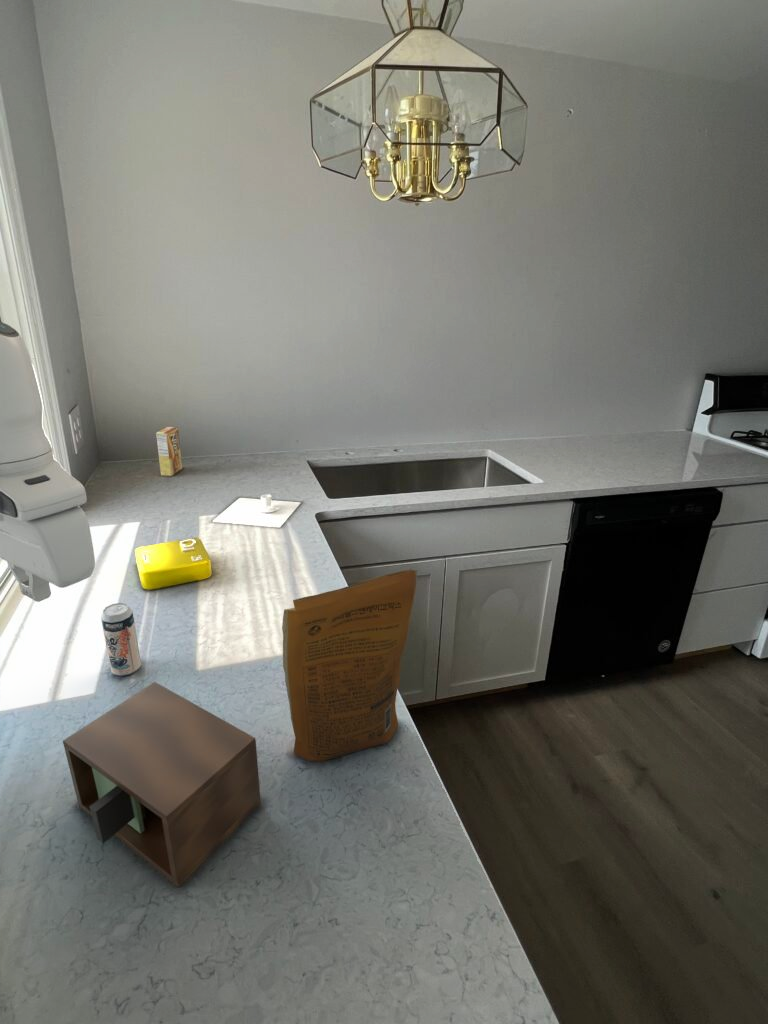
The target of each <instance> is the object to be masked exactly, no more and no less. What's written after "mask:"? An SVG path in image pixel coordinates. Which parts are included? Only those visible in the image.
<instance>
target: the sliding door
mask: <svg viewBox="0 0 768 1024" xmlns="http://www.w3.org/2000/svg"><path fill="white" fill-rule="evenodd" d="M92 770H93V775H94V779H95V784H96V788H97V792H98V797H99V800H98V801H96V802H95V803H94V804H92V805H91V806H90V810H91V814H92V817H91V818H92V823H93V826H94V831H95V834H96V835H95V836H96V838H97V840H98V841H100V842H101V843H102V844H105V843H106V842H107V841H108V840H110V839H111V838H112V837H114V834H116V833H117V832H118V831H119V830H120V829H121V828H123V827H124V826H125V825H126V824H127V823H128V824H129V825H130V826H132V827H133V828H134V829H135V830H137V831H138V832H139V833H142V832H143V831H144V830H145V828H144V823H143V818H142V813H141V807H140V802H139V801H137V800H136V799H134V798H133V797H132V796H130V795H129V794H128V793H126V792H125V791H124V790H122V789H121V788H120V787H118V786H117V785H115V784H114V783H113V782H111V781H110V780H109V779H107V778H106V777H105V776H103V775H102V774H100V773H99V772H98V771H96V770H95V769H94V768H92Z"/></svg>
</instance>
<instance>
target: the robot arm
mask: <svg viewBox="0 0 768 1024" xmlns="http://www.w3.org/2000/svg"><path fill="white" fill-rule="evenodd" d="M37 377H38V376H37V374H36V371H35V367H34V364H33V361H32V358H31V355H30V353H29V349H28V347H27V345H26V343H25V340H24V339H23V337H22V336H21V333H19V332H18V331H17V330H16V329H15V328H14V327H12V326H11V325H9V324H6V323H5V322H3V321H2V320H0V559H1V560H3V561H5V562H6V563H7V567H8V568H9V570H10V571H11V573H12V575H13V576H14V579H15V580H16V581H17V582H18V586H19V587H18V588H19V591H20V593H21V594H22V595H24V596H25V597H28V598H29V599H31V600H32V601H35V602H37V603H39V602H42V601H45V600H46V599H49V598H51V595H52V591H51V586H50V584H51V585H54V586H56V587H58V588H61V589H64V588H68V587H70V586H73V585H75V584H78V583H79V582H82V581H84V580H86V579H89V578H90V577H92V575H93V573H94V571H95V568H96V558H95V551H94V544H93V539H92V531H91V528H90V523H89V520H88V517H87V514H86V512H85V511H84V510H83V508H82V507H81V505H84V504H86V503H87V501H88V499H87V497H88V496H87V493H86V488H85V487H84V485H83V484H82V483H81V482H80V481H79V480H78V479H76V478H75V477H74V476H73V475H71V474H70V473H69V472H68V471H67V470H66V469H65V468H64V467H63V466H62V464H61V463H60V462H59V461H58V460H56V459H55V455H54V451H53V447H52V443H51V441H50V439H49V437H48V436H47V434H46V431H45V428H44V425H43V414H44V403H43V398H42V394H41V389H40V386H39V381H38V378H37Z"/></svg>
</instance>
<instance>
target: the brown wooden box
mask: <svg viewBox="0 0 768 1024" xmlns="http://www.w3.org/2000/svg"><path fill="white" fill-rule="evenodd" d="M62 745H63V749H64V752H65V756H66V760H67V765H68V768H69V773H70V776H71V780H72V784H73V788H74V792H75V797H76V800H77V805H78V808H79V809H81V811H83V812H84V813H86V814H87V815H88V816H89V817H90V818H92V814H91V810H90V806H91V805H92V804H94V803H95V802H96V801H98V800H99V797H98V792H97V788H96V784H95V779H94V775H93V770H92V768H94V769H95V770H96V771H98V772H99V773H100V774H102V775H103V776H105V777H106V778H107V779H109V780H110V781H111V782H113V783H114V784H115V785H117V786H118V787H120V788H121V789H122V790H124V791H125V792H126V793H128V794H129V795H130V796H132V797H133V798H134V799H136V800H137V801H139V802H140V807H141V813H142V818H143V823H144V828H145V830H144V831H143V832H142V833H139V832H138V831H137V830H135V829H134V828H133V827H132V826H130V825H129V824H128V823H127V824H126V825H125V826H124V827H123V828H121V829H120V830H119V831H118V832H117V833H116V834H114V835H113V837H115V838H116V839H118V840H119V841H120V842H121V843H122V844H124V845H125V846H126V847H128V849H130V850H131V851H132V852H134V853H135V854H136V855H137V856H139V857H140V858H141V859H142V860H143V861H145V862H146V863H147V864H148V865H150V867H152V868H154V869H155V870H156V871H157V872H158V873H160V874H161V875H162V876H163V877H164V878H166V879H167V880H168V881H169V882H170V883H172V884H173V885H174V886H176V887H177V888H178V889H179V888H180V887H181V886H182V885H183V884H184V883H185V882H186V881H187V880H188V879H189V878H190V877H191V876H192V875H193V874H194V873H195V872H196V871H197V870H198V868H199V867H201V866H202V865H203V864H204V863H205V862H206V860H208V858H210V857H211V855H212V854H214V852H215V851H216V850H217V849H218V848H219V847H220V846H221V845H222V844H223V843H224V842H225V841H226V840H227V839H228V838H229V837H230V836H231V835H232V834H233V833H234V832H235V831H236V829H238V827H239V826H241V824H242V823H244V822H245V820H246V819H247V818H248V817H250V815H251V814H252V813H253V812H254V811H255V810H256V809H257V808H259V806H260V805H261V802H262V801H261V791H260V789H261V788H260V778H259V777H260V776H259V765H258V753H257V751H258V750H257V740H256V737H254V736H253V735H251V734H249V733H248V732H245V731H244V730H241V728H238V727H237V726H235V725H233V724H231V723H229V722H227V721H226V720H225V719H222V718H221V717H219V716H217V715H215V714H214V713H211V712H209V711H208V710H207V709H204V708H203V707H201V706H199V705H197V704H195V703H194V702H192V701H190V700H188V699H186V698H185V697H183V696H182V695H180V694H177V693H176V692H174V691H172V690H171V689H169V688H166V686H163V685H161V684H160V683H158V682H156V681H153V682H152V683H150V684H149V685H147V686H145V687H144V688H143V689H140V691H138V692H136V693H134V694H132V696H130V697H129V698H127V699H125V700H123V701H122V702H120V703H119V704H117V705H116V706H114V707H113V708H111V709H110V710H108V711H107V712H105V713H103V714H102V715H100V716H99V717H97V718H95V719H94V720H92V721H91V722H89V723H87V724H86V725H84V726H83V727H81V728H80V729H79V730H77V731H75V732H74V733H72V734H71V735H69V736H68V737H66V738H64V739H63V740H62Z"/></svg>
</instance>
